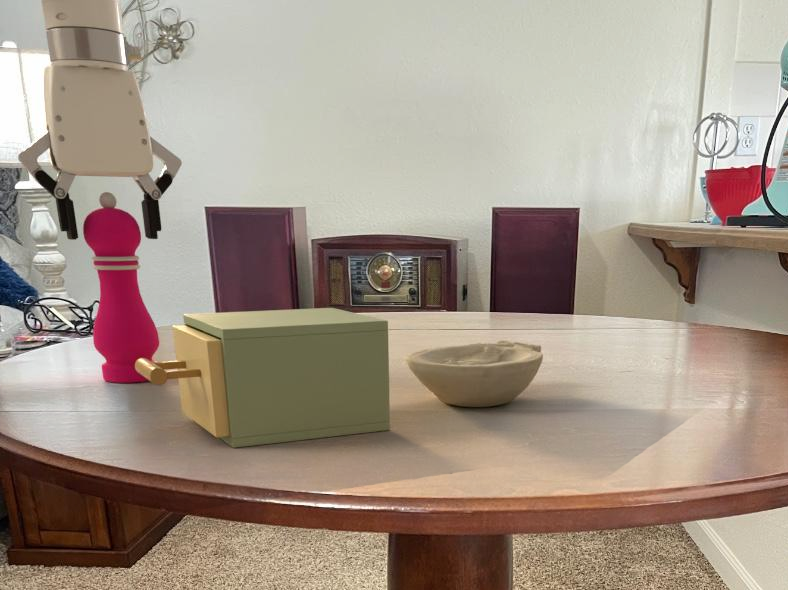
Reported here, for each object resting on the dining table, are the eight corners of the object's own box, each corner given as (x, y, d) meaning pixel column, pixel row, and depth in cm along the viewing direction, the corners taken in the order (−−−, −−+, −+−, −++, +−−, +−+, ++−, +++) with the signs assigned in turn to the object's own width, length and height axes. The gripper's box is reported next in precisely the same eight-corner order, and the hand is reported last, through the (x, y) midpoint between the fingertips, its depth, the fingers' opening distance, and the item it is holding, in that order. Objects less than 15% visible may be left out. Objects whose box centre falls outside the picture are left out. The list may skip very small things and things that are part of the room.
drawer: (164, 443, 72) (152, 344, 69) (135, 416, 81) (123, 328, 78) (364, 421, 80) (361, 332, 77) (317, 399, 89) (313, 318, 86)
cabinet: (233, 448, 74) (222, 329, 71) (194, 419, 84) (182, 314, 81) (390, 430, 81) (388, 320, 77) (336, 405, 91) (332, 307, 87)
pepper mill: (85, 380, 103) (56, 191, 95) (130, 371, 109) (106, 192, 101) (132, 385, 100) (106, 191, 92) (176, 376, 106) (155, 192, 98)
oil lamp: (472, 375, 108) (473, 333, 106) (583, 386, 102) (586, 341, 100) (379, 405, 91) (378, 355, 89) (506, 420, 85) (507, 366, 83)
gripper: (165, 66, 98) (183, 237, 105) (-8, 52, 91) (24, 238, 98) (182, 57, 92) (200, 239, 99) (-2, 41, 85) (32, 240, 92)
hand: (113, 238), depth 98 cm, fingers open, 7 cm apart
